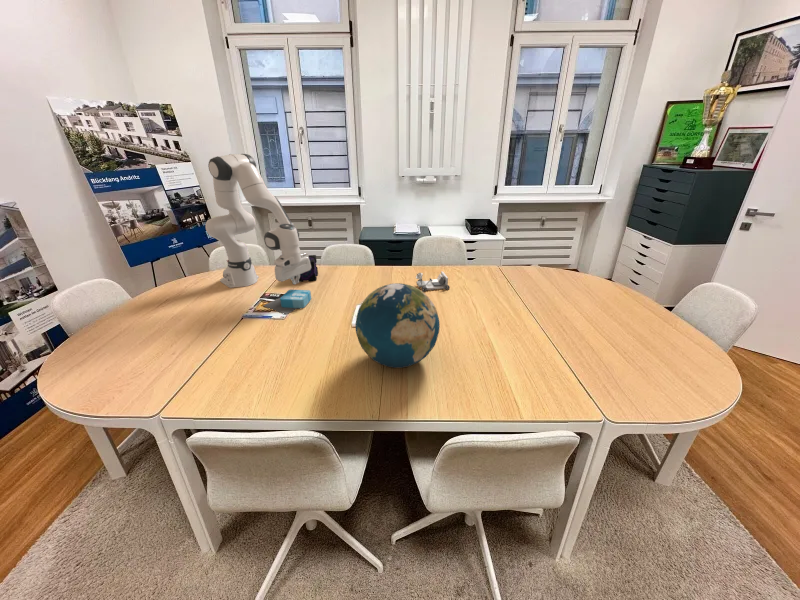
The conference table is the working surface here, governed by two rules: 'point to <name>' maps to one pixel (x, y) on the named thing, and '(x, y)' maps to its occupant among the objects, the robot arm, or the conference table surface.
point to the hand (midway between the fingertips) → (295, 283)
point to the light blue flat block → (295, 298)
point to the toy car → (433, 282)
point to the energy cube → (310, 271)
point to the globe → (397, 325)
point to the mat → (279, 307)
